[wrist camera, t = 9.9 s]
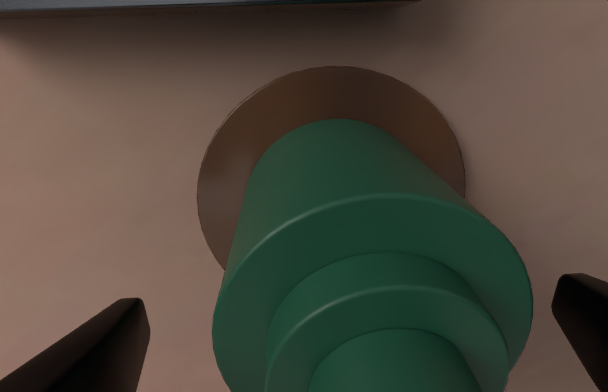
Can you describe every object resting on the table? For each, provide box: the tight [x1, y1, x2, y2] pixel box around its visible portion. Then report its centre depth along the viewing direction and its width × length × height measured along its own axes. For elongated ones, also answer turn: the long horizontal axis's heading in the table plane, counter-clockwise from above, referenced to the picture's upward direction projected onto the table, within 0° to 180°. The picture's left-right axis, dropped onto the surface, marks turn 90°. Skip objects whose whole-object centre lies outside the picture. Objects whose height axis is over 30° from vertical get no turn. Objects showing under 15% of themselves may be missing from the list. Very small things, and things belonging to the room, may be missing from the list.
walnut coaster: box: [197, 66, 465, 270], centre depth 13 cm, size 9×9×1 cm
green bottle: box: [212, 119, 533, 392], centre depth 8 cm, size 6×6×10 cm
